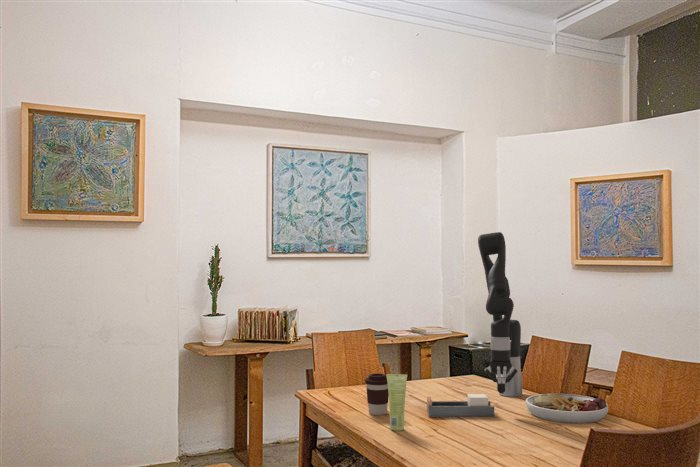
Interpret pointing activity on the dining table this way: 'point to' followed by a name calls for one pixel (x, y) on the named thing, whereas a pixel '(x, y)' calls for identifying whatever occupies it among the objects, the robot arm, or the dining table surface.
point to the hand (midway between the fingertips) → (501, 393)
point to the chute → (457, 409)
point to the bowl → (567, 407)
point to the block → (477, 400)
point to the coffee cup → (377, 393)
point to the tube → (396, 400)
